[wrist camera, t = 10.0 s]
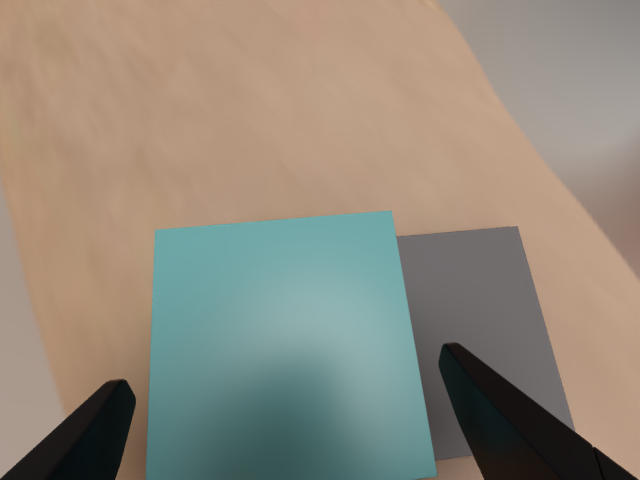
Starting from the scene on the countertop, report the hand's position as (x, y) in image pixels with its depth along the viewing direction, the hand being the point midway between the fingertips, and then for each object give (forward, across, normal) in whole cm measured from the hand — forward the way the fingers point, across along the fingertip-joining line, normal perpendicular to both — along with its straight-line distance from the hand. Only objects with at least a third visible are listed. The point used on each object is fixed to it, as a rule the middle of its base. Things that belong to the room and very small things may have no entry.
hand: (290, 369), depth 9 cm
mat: (+6, -9, +6) cm, 13 cm away
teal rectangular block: (+7, 0, +6) cm, 9 cm away
